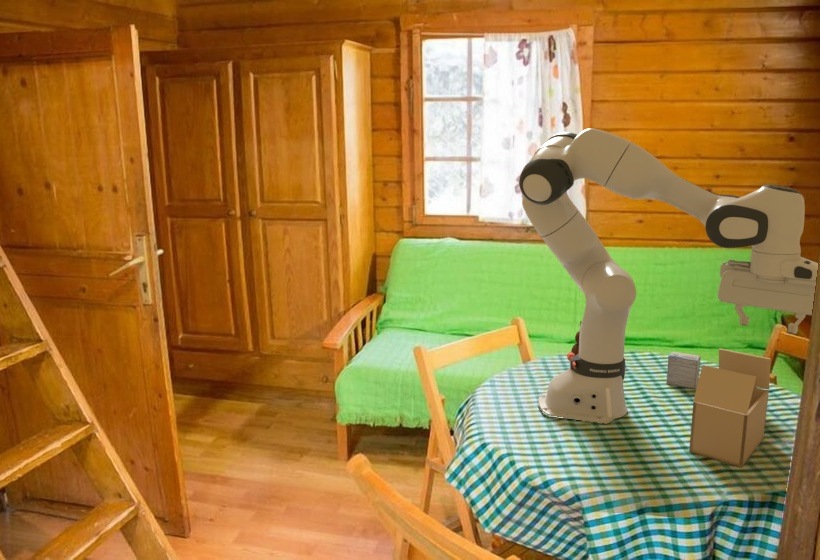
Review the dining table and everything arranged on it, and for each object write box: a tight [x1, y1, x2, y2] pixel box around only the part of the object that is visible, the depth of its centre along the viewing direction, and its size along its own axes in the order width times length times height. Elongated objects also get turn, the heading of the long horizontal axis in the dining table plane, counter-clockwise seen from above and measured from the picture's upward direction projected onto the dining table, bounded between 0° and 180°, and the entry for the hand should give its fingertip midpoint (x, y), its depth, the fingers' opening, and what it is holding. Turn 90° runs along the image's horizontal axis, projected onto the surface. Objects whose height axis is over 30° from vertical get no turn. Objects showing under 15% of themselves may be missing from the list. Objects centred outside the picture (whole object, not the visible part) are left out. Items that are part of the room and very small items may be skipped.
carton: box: [688, 387, 770, 468], centre depth 147 cm, size 11×17×12 cm, turn 138°
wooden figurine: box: [570, 320, 582, 355], centre depth 196 cm, size 7×6×15 cm
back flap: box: [718, 348, 771, 391], centre depth 150 cm, size 11×8×1 cm
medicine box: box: [666, 351, 701, 390], centre depth 182 cm, size 8×4×9 cm, turn 58°
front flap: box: [693, 364, 756, 414], centre depth 140 cm, size 11×8×1 cm
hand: (767, 328), depth 137 cm, fingers open, 8 cm apart
